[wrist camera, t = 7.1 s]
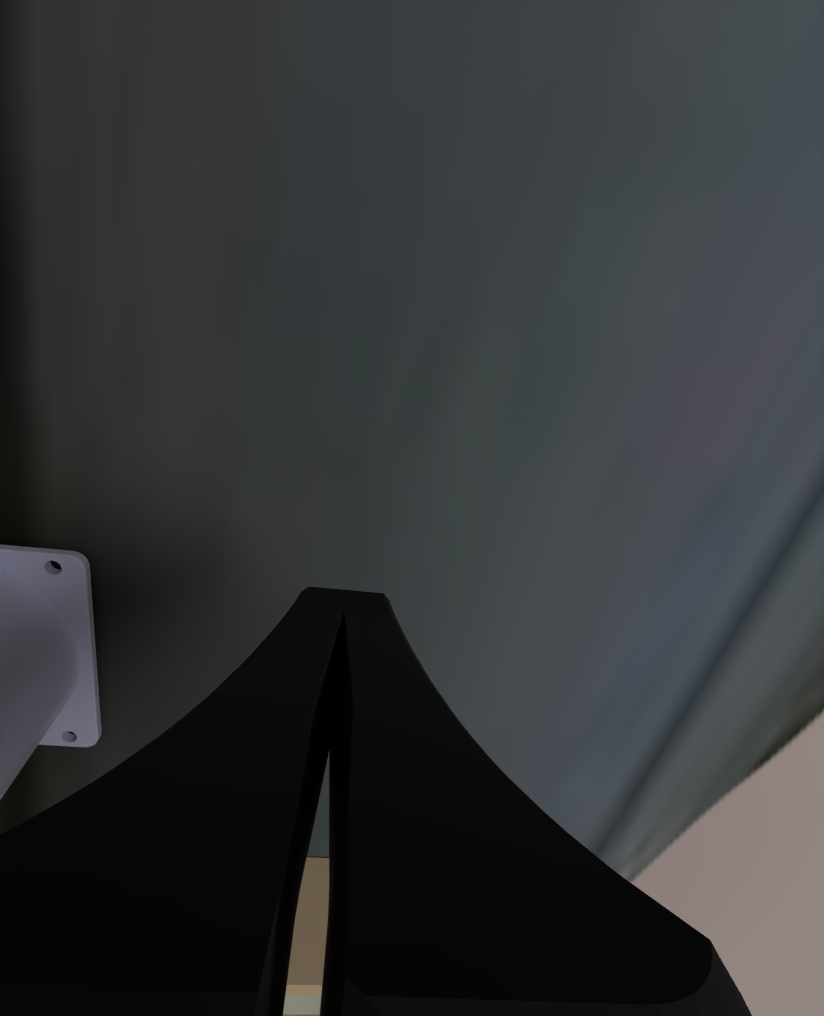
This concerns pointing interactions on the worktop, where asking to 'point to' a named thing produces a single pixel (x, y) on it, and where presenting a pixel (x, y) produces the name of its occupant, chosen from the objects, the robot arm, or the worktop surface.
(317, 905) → the box
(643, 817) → the worktop surface
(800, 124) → the worktop surface
